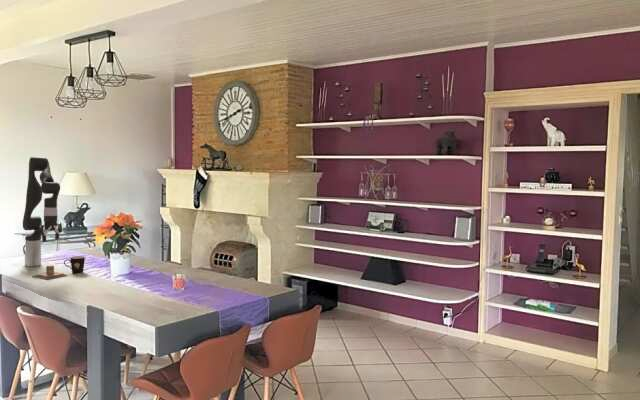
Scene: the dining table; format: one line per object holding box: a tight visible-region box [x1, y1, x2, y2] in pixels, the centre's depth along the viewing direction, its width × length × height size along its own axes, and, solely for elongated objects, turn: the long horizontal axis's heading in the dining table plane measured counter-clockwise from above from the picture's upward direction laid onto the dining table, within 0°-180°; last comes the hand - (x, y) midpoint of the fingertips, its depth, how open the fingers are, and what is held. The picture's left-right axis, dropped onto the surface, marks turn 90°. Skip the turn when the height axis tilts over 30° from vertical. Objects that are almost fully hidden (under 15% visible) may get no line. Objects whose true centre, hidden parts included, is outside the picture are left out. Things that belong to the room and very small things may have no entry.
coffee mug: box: [63, 255, 86, 275], centre depth 341 cm, size 12×9×10 cm
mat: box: [31, 273, 68, 281], centre depth 328 cm, size 14×14×1 cm
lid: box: [36, 264, 65, 278], centre depth 328 cm, size 11×11×6 cm
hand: (50, 240), depth 328 cm, fingers open, 8 cm apart
